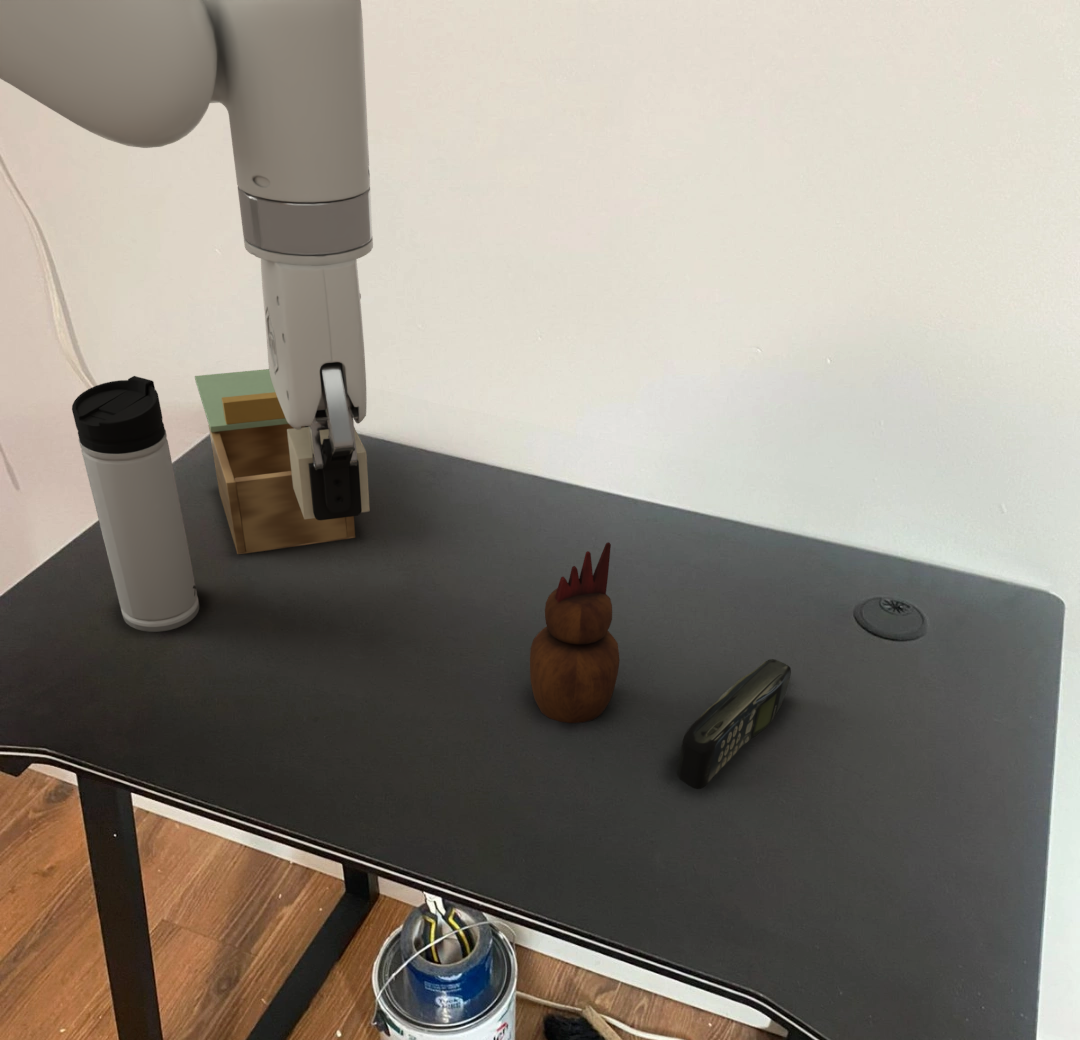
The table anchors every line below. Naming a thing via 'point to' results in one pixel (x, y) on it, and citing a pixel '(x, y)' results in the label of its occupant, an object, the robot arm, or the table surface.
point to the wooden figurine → (576, 647)
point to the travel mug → (137, 502)
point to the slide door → (239, 400)
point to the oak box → (266, 492)
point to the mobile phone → (732, 722)
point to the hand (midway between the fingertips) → (330, 494)
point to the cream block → (303, 457)
